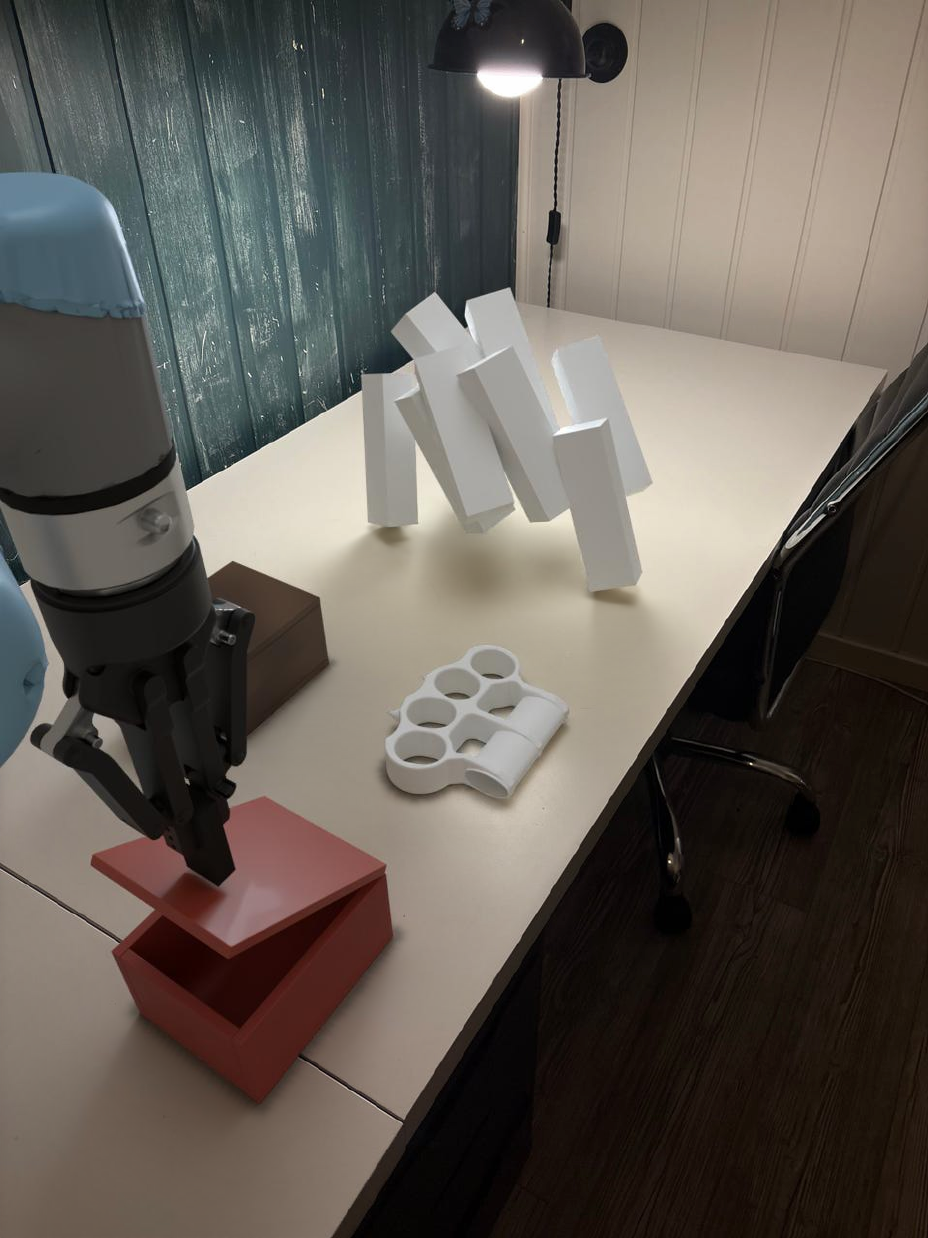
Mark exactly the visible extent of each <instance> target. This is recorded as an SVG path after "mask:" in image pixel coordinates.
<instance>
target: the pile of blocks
mask: <svg viewBox="0 0 928 1238" xmlns="http://www.w3.org/2000/svg"><path fill="white" fill-rule="evenodd" d="M464 318H465V321H466V324H467V327H468V330H469V332H470V333H469V332H468V330H466V328H465V327H464V326H463V324H462V323H460V321H459V320H458V319H457V317H456V315H454V313H453V312H452V311H451V310H450V309H449V307H448V306H447V305H446V303H445V302H444V301H443V300H442V299H441V298H440V295H438V293H436V291H434V292H433V293H431V294H430V295H428V297H426V298H424V299H423V300H422V301H421V302H419V303H418V304H417V305H415V306H414V307H413V308H411V309H410V310H409V311H407V312H405V314H404V315H403V316H402V317H401V318H400V319H399V321H397V323H396V324H395V325H394V326H393V328H392V329H391V330H390V333H391V334H392V335H393V336H394V338H395V339H396V340H397V341H398V342H399V344H400V345H401V346H402V348H403V349H404V350H405V351H406V352H407V354H408V355H409V356H410V357H411V358H412V360H413V361H414V365H413V366H414V373H413V372H406V373H405V372H403V373H399V372H397V373H396V372H395V373H393V372H392V373H361V375H360V378H361V380H360V381H361V398H362V399H361V400H362V401H361V402H362V403H361V404H362V419H363V421H362V422H363V423H362V424H363V445H364V467H365V469H364V470H365V485H366V486H365V487H366V489H365V490H366V510H367V511H366V512H367V523H369V524H372V525H377V526H380V527H386V528H394V527H396V528H397V527H404V526H412V525H418V524H419V514H418V513H419V511H418V485H417V484H418V483H417V482H418V480H417V479H418V477H417V476H418V475H417V452H416V451H417V450H416V448H417V447H416V445H417V446H418V448H419V450H420V452H421V453H422V455H423V457H424V459H425V461H426V462H427V464H428V466H429V468H430V470H431V472H432V473H433V475H434V477H435V479H436V481H437V483H438V485H439V486H440V488H441V490H442V492H443V493H444V495H445V498H446V499H447V501H448V503H449V504H450V506H451V508H452V511H453V512H454V513H455V516H456V517H457V519H458V521H459V523H460V525H461V527H462V528H463V530H464V533H465V534H486V533H487V532H488V531H490V530H491V529H492V528H494V527H495V526H496V525H498V524H499V523H500V522H501V521H503V520H504V519H505V518H507V517H508V516H509V515H510V514H512V513H513V512H514V511H516V507H515V505H514V504H515V499H514V497H513V493H512V490H513V492H514V494H515V496H516V498H517V500H518V502H519V504H520V506H521V509H522V510H523V512H524V514H525V516H526V518H527V520H528V522H529V523H531V524H532V523H546V522H547V523H549V522H552V520H554V519H556V518H557V517H558V516H560V515H561V514H563V513H564V512H566V511H567V510H568V509H569V510H570V516H571V519H572V523H573V527H574V531H575V535H576V540H577V543H578V549H579V552H580V555H581V560H582V564H583V568H584V573H585V576H586V580H587V585H588V589H589V592H598V591H606V590H613V589H614V590H615V589H620V588H627V587H628V588H629V587H635V586H637V584H638V582H639V580H640V578H641V576H642V574H643V569H642V564H641V560H640V555H639V550H638V547H637V546H638V545H637V541H636V537H635V532H634V528H633V522H632V519H631V514H630V510H629V505H628V502H627V497H630V496H634V495H636V494H639V493H643V492H645V490H647V489H648V488H649V487H650V486H651V485H652V484H653V483H654V482H653V480H652V476H651V474H650V471H649V468H648V465H647V463H646V462H647V461H646V460H645V457H644V455H643V451H642V449H641V445H640V443H639V440H638V438H637V434H636V432H635V429H634V427H633V424H632V421H631V418H630V415H629V411H628V409H627V407H626V404H625V401H624V399H623V396H622V393H621V390H620V387H619V383H618V381H617V378H616V376H615V373H614V370H613V367H612V364H611V362H610V359H609V356H608V353H607V351H606V348H605V346H604V342H603V340H602V337H601V334H597V335H594V336H591V337H588V338H585V339H581V340H577V341H575V342H571V343H568V344H566V345H565V344H564V345H563V346H558V347H556V348H555V350H554V353H553V356H552V358H551V361H550V363H551V366H552V369H553V371H554V374H555V378H556V380H557V383H558V385H559V388H560V392H561V394H562V397H563V400H564V402H565V403H564V404H565V405H566V408H567V409H566V410H567V411H568V414H569V416H570V419H571V422H572V425H569V426H564V427H563V426H562V427H561V428H560V425H559V422H558V420H557V417H556V414H555V411H554V409H553V405H552V403H551V399H550V396H549V395H548V391H547V388H546V386H545V382H544V380H543V377H542V374H541V372H540V368H539V366H538V362H537V360H536V358H535V357H536V356H535V354H534V351H533V349H532V346H531V344H530V343H531V342H530V339H529V338H528V334H527V331H526V329H525V326H524V324H523V321H522V317H521V315H520V312H519V309H518V306H517V303H516V300H515V297H514V295H513V292H512V289H511V287H506V288H503V289H500V290H496V291H493V292H490V293H487V294H484V295H479V296H477V297H474V298H470V299H467V300H466V302H465V310H464ZM414 375H415V377H416V381H417V383H416V386H414V385H415V384H414V383H415V382H414ZM509 484H510V485H509ZM510 486H511V487H510ZM511 488H512V490H511Z"/></svg>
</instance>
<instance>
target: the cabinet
mask: <svg viewBox="0 0 928 1238" xmlns="http://www.w3.org/2000/svg"><path fill="white" fill-rule="evenodd" d="M207 578H208V583H209V587H210V591H211V601H212V600H214V599H215V598H221V599H223V600H226V601H228V602H230V603H232V604H235V605H237V606H239V607H241V608H244V609H246V610H248V611H250V612H253V613H254V615H255V624H254V628H253V631H252V635H251V639H250V643H249V646H248V650H247V736H249V734H251V733H252V732H253V731H254V730H255V729H256V728H257V727H259V726H261V724H262V723H263V722H264V721H266V720H267V719H269V717H270V716H271V715H273V714H274V713H275V712H276V711H277V710H278V709H280V708H281V707H282V706H283V705H284V704H285V703H286V702H288V700H290V699H291V698H292V697H293V696H294V695H296V693H298V692H299V691H300V690H301V689H302V688H304V687H305V686H306V685H307V684H308V683H309V682H310V681H311V680H312V679H314V678H315V677H316V676H317V675H319V673H321V671H323V670H324V669H325V668H326V667H327V666H328V665H330V661H329V653H328V646H327V639H326V631H325V626H324V618H323V612H322V611H323V610H322V605H321V604H322V603H321V597H320V596H318V595H316V594H314V593H311V592H309V591H306V590H304V589H302V588H300V587H297V586H295V585H292V584H289V583H287V582H285V581H282V580H281V579H278V578H275V577H273V576H271V575H268V574H266V573H263V572H261V571H258V570H256V569H254V568H252V567H249V566H246V565H245V564H242V563H240V562H237V561H235V560H231V561H230V562H229V563H226V564H225V565H224V566H223V567H221V568H220V569H219V570H216V571H215V572H214V573H213V574H210V575H209V576H207Z"/></svg>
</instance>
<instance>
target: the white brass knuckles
mask: <svg viewBox="0 0 928 1238" xmlns="http://www.w3.org/2000/svg"><path fill="white" fill-rule="evenodd" d="M520 663H521V662H520V661H519V658H518V657H517V656H516V655H515V653H513V652H512V651H510V650H508V649H507V648H505V647H503V646H499V645H491V644H482V645H476V646H473V647H470V648H467V650H466V652H465V654H464V655H463V656H462V657H461V658H460V659H459V660H457V661H455V662H453V663H450V664H446V665H440V666H439V667H437V668H436V669H434V670H432V671H431V672H430V673H428V674H426V675H421V678H422V679H423V684H422V685H421V686H420V687H419V688H418V689H417V690H416V691H415V692H413V693H411V694H409V695H406V696H405V698H404V700H403V702H402V704H401V706H400V708H397V709H393V710H391V711H387V712H386V714H387V715H389V716H390V717H391V718H392V719H394V720H395V721H396V722H397V723H398V726H397V728H396V729H395V730H394V731H393V733H391V735H389V736H388V737H386V738H385V740H384V755H385V766H386V773H387V776H388V778H389V780H390V781H391V783H392V784H393V785H394V786H395V787H396V788H398V789H400V790H401V791H403V792H406V793H409V794H413V795H427V794H433V793H436V792H439V791H441V790H442V789H444V788H446V787H447V786H449V785H458V784H459V785H460V784H464V785H466V786H468V787H471V788H473V789H475V790H477V791H479V792H481V793H483V794H485V795H487V796H489V797H492V798H495V799H503V800H505V799H508V798H509V797H512V795H514V793H515V789H516V787H517V785H519V783H520V781H521V780H522V779H523V778H524V776H525V775H526V774H527V772H528V770H529V769H530V768H531V767H532V765H533V764H534V762H536V760H537V758H540V757H541V756H542V754H543V750H544V749H545V747H547V745H548V743H549V742H550V740H551V739H552V738H553V736H554V735H555V734H556V733H557V732H558V730H559V729H560V727H561V726H562V724H563V723H565V722H567V720H568V719H569V714H570V708H569V706H568V704H567V703H565V702H564V701H563V700H562V699H561V698H559V697H558V696H557V695H555V694H553V693H551V692H549V691H546V690H543V689H541V688H539V687H537V686H534V685H531V684H529V683H526V682H524V680H523V679H522V678H521V664H520ZM484 675H497V676H499V677H502V678H497V679H495V678H494V679H493V678H488V677H485V676H484ZM449 694H462V695H466V696H468V697H469V698H463V699H454V698H450V697H449V696H446V695H449ZM506 707H514V708H513V709H512V711H511V712H510V713H509V715H508V716H507V717H506V718H505V719H504V718H502V717H499V716H497V715H495V714H492V713H490V711H491V710H493V709H501V708H506ZM426 723H435V724H442V725H445V726H442V727H435V728H432V727H426V726H421V724H426ZM471 739H473V740H477V741H479V742H482V743H484V746H483V747H482V749H481V750H480V751H479V752H478V753H477V755H474V754H471V753H469V752H463V753H459V752H457V751H458V750H459V749H460V747H461V746H462V745H463V744H464V743H465V742H466V741H468V740H471ZM412 757H413V758H414V757H426V758H431V759H434V760H435V759H436V760H437V761H434V762H432V763H428V764H421V763H420V764H419V763H414V762H409V761H405V760H407V759H409V758H412Z"/></svg>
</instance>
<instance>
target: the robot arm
mask: <svg viewBox="0 0 928 1238" xmlns="http://www.w3.org/2000/svg"><path fill="white" fill-rule="evenodd" d="M130 253H131V252H130V250H129V248H128V243H127V241H126V239H125V237H124V233H123V229H122V227H121V224H120V221H119V218H118V215H117V213H116V210H115V208H114V206H113V205H112V202H111V201H110V200H109V199H108V198H107V197H106V196H105V195H104V194H103V193H102V192H101V191H100V190H99V189H98V188H96V187H95V186H94V185H91V184H89V183H86V182H84V181H83V180H81V179H79V178H76V177H74V176H70V175H66V174H59V173H53V172H37V171H35V172H34V171H29V172H28V171H27V172H26V171H21V172H18V171H17V172H1V173H0V510H1V512H2V516H3V518H4V520H5V523H6V526H7V528H8V531H9V534H10V536H11V539H12V542H13V545H14V547H15V550H16V552H17V555H18V558H19V560H20V562H21V565H22V567H23V570H24V572H25V573H26V574H27V575H28V576H29V577H30V578H29V582H30V588H31V591H32V593H33V596H34V598H35V601H36V603H37V606H38V609H39V611H40V614H41V617H42V619H43V621H44V624H45V627H46V629H47V632H48V634H49V637H50V640H51V642H52V644H53V646H54V647H55V649H56V651H57V653H58V654H59V656H60V657H61V660H62V663H63V676H62V682H61V687H62V692H63V694H64V696H65V698H67V700H66V702H65V704H64V705H63V707H62V709H61V711H60V712H59V714H58V716H57V717H56V719H55V720H54V722H53V723H52V724H51V723H48V722H43V723H40V724H38V725H37V726H35V728H34V729H33V730H32V731H31V733H30V737H29V742H30V744H31V745H32V746H33V747H35V748H36V749H38V750H39V751H42V752H43V753H44V754H45V755H48V756H49V757H51V758H53V759H54V760H56V761H58V762H59V763H61V764H62V765H64V766H66V767H67V768H70V769H72V770H73V771H74V772H75V773H76V774H77V775H78V776H79V777H80V778H81V780H82V781H84V783H85V784H86V785H87V786H88V787H89V788H90V789H91V790H92V791H93V792H94V794H96V796H97V797H98V798H99V799H100V800H101V801H102V802H103V803H104V805H106V807H107V808H108V809H109V810H110V811H111V812H112V813H113V814H114V815H115V816H116V818H117V819H119V821H120V822H123V823H124V824H126V825H127V826H129V827H130V828H131V829H133V830H134V831H137V833H139V834H141V835H143V837H145V836H146V837H148V838H149V839H151V840H157V839H159V838H160V837H161V836H164V839H165V842H166V845H167V846H168V847H170V848H171V849H173V850H175V851H176V852H178V853H179V854H181V855H183V856H184V859H185V862H186V865H187V867H188V868H190V869H191V870H193V871H194V872H196V873H197V874H199V875H201V876H202V877H204V878H205V879H207V880H208V881H210V882H212V883H213V884H215V885H216V886H218V887H219V886H220V885H221V884H222V883H223V882H224V881H225V880H226V879H227V878H228V877H229V876H230V875H231V874H232V873H233V872H234V871H235V870H236V868H235V865H234V861H233V858H232V854H231V851H230V847H229V843H228V840H227V836H226V833H225V829H224V826H223V825H224V824H225V823H226V822H227V821H228V820H229V818H230V809H229V808H230V806H229V802H228V800H229V799H230V798H232V796H234V795H235V792H236V789H237V783H236V782H234V781H232V780H231V779H229V778H227V773H228V771H229V770H230V769H231V767H233V768H237V767H240V766H241V765H242V764H243V763H244V761H245V760H246V757H247V753H248V752H247V751H248V744H247V743H248V735H247V650H248V646H249V643H250V639H251V635H252V631H253V628H254V624H255V615H254V613H253V612H250V611H248V610H246V609H244V608H241V607H239V606H237V605H235V604H232V603H230V602H228V601H226V600H223V599H221V598H215V599H214V600H212V601H211V591H210V587H209V583H208V575H207V574H208V573H207V570H206V567H205V562H204V558H203V554H202V549H201V546H200V542H199V540H198V538H197V537H196V536H195V535H194V532H195V523H194V522H195V521H194V517H193V513H192V509H191V506H190V505H191V504H190V501H189V497H188V493H187V492H188V491H187V489H186V484H185V480H184V476H183V471H182V468H181V467H182V466H181V463H180V459H179V454H178V452H177V448H176V445H175V440H174V437H173V433H172V431H171V424H170V421H169V417H168V412H167V407H166V402H165V397H164V393H163V388H162V383H161V379H160V374H159V370H158V369H159V368H158V364H157V360H156V355H155V350H154V346H153V341H152V337H151V331H150V328H149V327H150V326H149V322H148V317H147V314H148V306H147V301H146V299H145V297H144V296H143V295H142V294H143V293H142V291H141V287H140V283H139V281H138V278H137V274H136V270H135V268H134V267H135V266H134V263H133V259H132V257H131V254H130ZM49 665H50V662H49V660H48V656H47V652H46V645H45V641H44V636H43V633H42V629H41V627H40V624H39V622H38V620H37V616H36V615H35V611H33V609H32V607H31V604H30V603H29V601H28V599H27V598H26V596H25V593H24V591H23V590H22V589H21V586H20V584H19V583H18V581H17V579H16V577H15V575H14V574H13V572H12V570H11V568H10V567H9V565H8V563H7V561H6V560H5V554H4V549H3V546H2V545H0V769H1V768H2V767H3V766H4V765H5V764H6V762H7V761H8V760H9V759H10V758H11V757H12V755H13V754H14V753H15V752H16V750H17V749H18V747H19V746H20V745H21V743H22V742H23V740H24V739H25V737H26V735H27V733H28V732H29V730H30V728H31V726H32V724H33V722H34V721H35V719H36V716H37V714H38V711H39V709H40V706H41V702H42V699H43V694H44V691H45V678H46V672H47V669H48V666H49ZM95 714H96V715H98V716H102V717H105V718H108V719H111V720H113V721H114V722H115V723H116V724H117V725H118V727H119V728H120V730H121V734H122V737H123V740H124V743H125V745H126V748H127V752H128V754H129V757H130V759H131V763H132V765H133V768H134V771H135V773H136V777H137V779H138V782H139V785H140V788H141V789H140V788H139V787H138V786H137V784H135V782H134V781H133V780H132V779H131V778H130V776H129V775H128V774H127V773H126V771H125V770H124V769H123V768H122V767H121V766H120V764H119V763H118V762H117V761H116V760H115V759H114V757H113V756H111V754H109V753H107V752H106V751H104V750H102V749H101V747H102V746H103V743H104V740H103V738H102V737H99V730H98V728H97V727H96V726H95V725H94V723H93V718H94V715H95ZM223 733H225V735H226V738H225V737H223V736H222V734H223ZM186 780H187V781H188V782H186ZM141 790H142V791H141Z"/></svg>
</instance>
